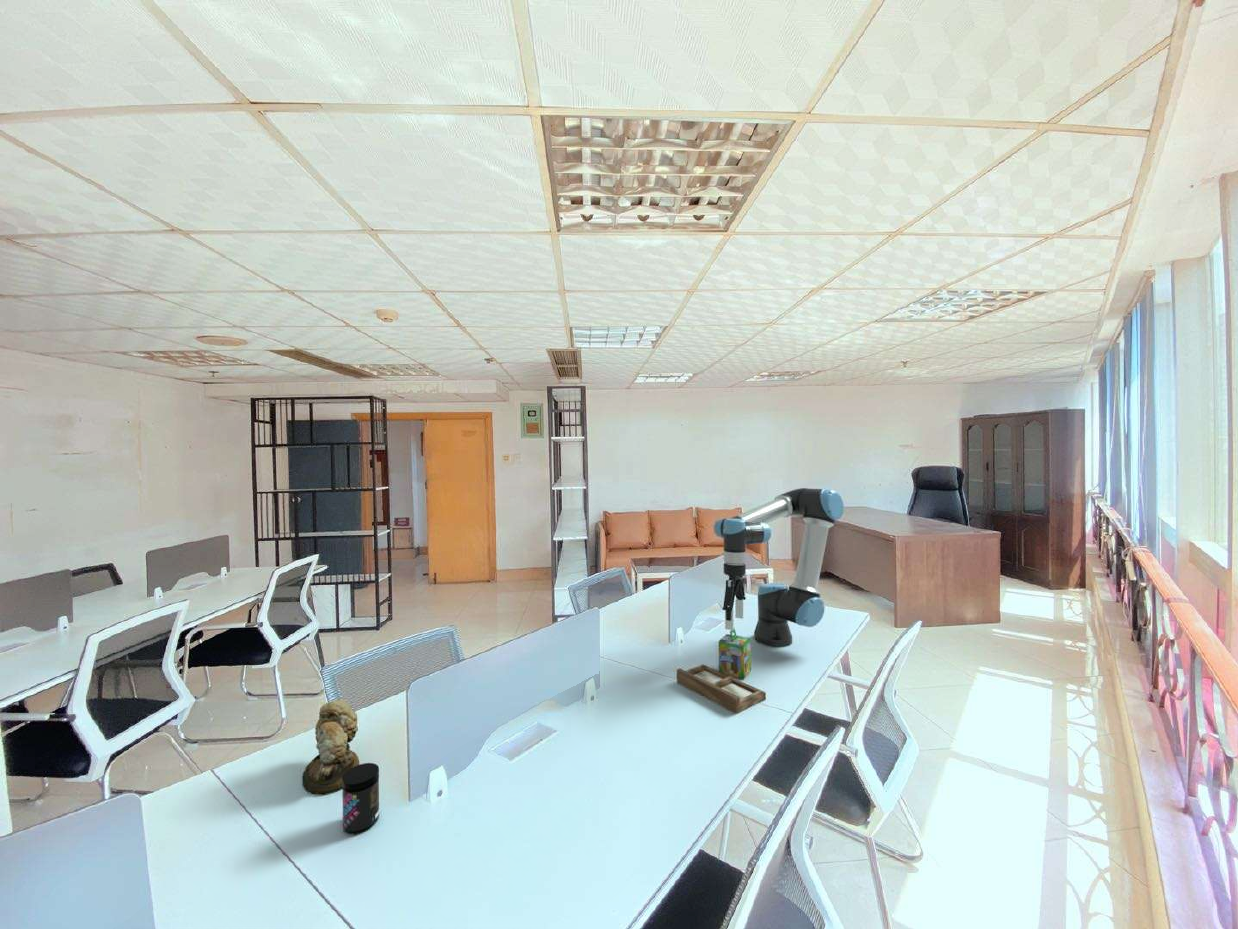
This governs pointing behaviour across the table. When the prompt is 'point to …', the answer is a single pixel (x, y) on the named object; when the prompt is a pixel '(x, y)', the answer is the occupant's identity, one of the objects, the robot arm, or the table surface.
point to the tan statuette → (332, 748)
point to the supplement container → (360, 798)
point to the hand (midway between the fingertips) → (734, 623)
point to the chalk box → (735, 655)
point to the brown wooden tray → (720, 688)
